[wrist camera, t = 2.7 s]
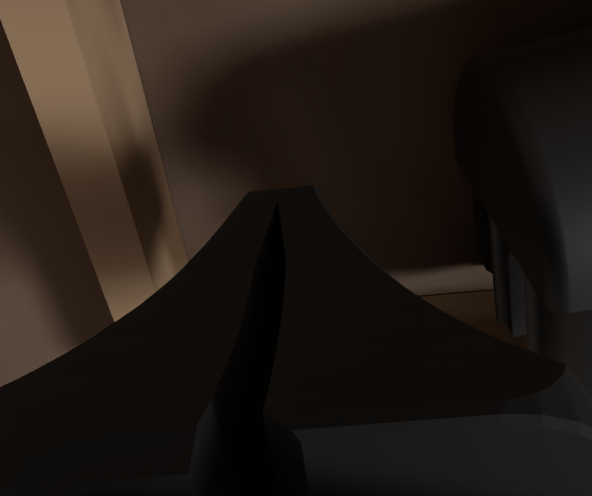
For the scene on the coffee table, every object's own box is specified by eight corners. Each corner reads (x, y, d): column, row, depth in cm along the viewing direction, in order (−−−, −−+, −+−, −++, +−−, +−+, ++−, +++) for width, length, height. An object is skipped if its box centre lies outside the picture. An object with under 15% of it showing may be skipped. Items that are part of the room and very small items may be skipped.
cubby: (813, 288, 16) (907, 360, 14) (171, 343, 18) (150, 418, 15) (1079, -240, 10) (1345, -284, 7) (32, -102, 11) (-44, -99, 9)
